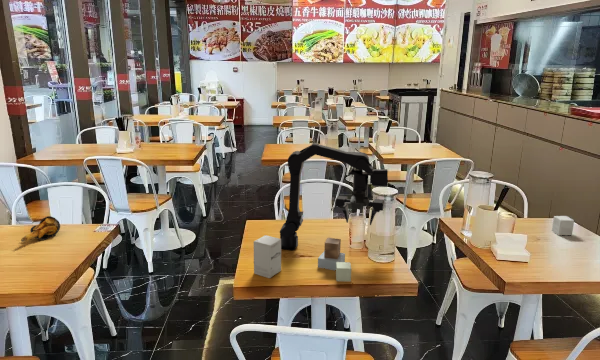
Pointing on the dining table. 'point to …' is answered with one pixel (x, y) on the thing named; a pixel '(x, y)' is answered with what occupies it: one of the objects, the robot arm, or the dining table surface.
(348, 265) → the sage block
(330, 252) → the walnut block
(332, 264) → the slate plinth
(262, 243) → the supplement box
